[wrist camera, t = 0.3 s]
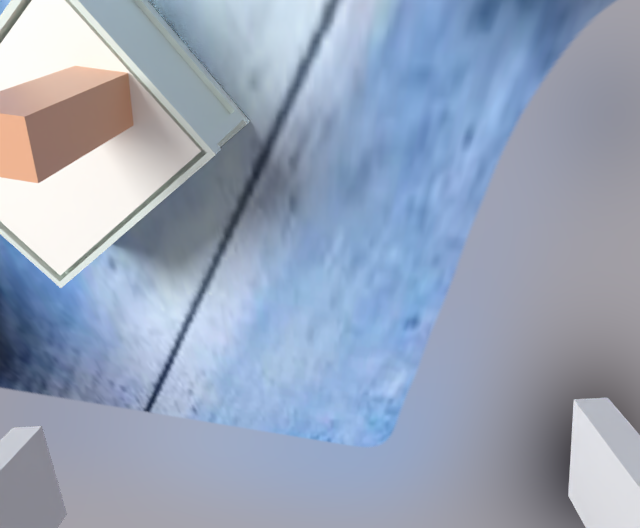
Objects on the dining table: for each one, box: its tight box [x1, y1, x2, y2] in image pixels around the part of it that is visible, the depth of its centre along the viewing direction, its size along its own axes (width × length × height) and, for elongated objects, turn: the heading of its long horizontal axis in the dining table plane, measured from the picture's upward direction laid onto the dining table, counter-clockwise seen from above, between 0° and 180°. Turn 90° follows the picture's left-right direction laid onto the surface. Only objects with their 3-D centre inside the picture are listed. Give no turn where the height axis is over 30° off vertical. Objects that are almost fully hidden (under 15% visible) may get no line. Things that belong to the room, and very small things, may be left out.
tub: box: [0, 0, 250, 288], centre depth 36 cm, size 17×13×7 cm
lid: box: [0, 0, 203, 275], centre depth 30 cm, size 16×12×10 cm
